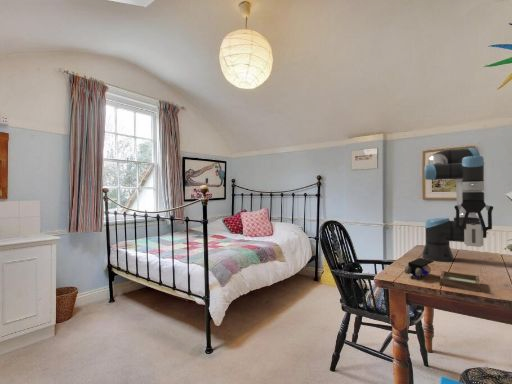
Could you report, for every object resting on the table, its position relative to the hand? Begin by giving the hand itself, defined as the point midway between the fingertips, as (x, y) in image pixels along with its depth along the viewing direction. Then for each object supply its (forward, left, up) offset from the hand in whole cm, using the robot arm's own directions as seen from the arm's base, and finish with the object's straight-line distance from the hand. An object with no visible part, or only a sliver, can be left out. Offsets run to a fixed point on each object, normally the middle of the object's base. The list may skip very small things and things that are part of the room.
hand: (473, 244), depth 121 cm
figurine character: (+8, -20, -16) cm, 27 cm away
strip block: (0, 0, 0) cm, 0 cm away
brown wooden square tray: (+10, -5, -16) cm, 19 cm away
